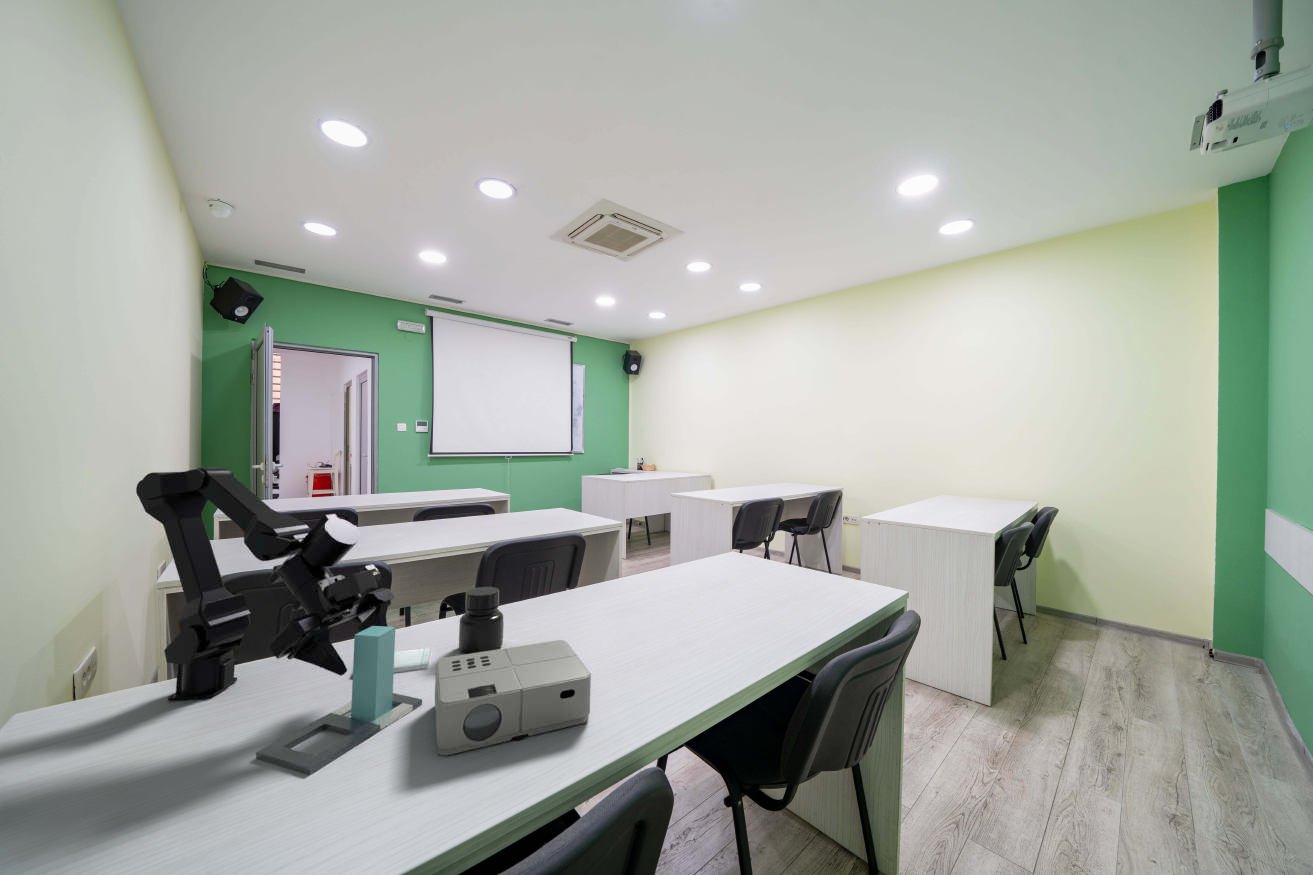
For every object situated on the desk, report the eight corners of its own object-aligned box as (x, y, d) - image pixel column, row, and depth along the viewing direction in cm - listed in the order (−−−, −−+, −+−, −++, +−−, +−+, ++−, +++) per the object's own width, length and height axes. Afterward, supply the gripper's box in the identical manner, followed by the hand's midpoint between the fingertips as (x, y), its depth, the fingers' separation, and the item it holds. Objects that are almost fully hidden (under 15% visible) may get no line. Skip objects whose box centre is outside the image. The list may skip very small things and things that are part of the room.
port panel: (310, 774, 61) (310, 768, 61) (255, 757, 64) (256, 751, 64) (421, 704, 78) (422, 699, 79) (375, 693, 82) (375, 689, 82)
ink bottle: (509, 639, 107) (511, 585, 107) (497, 656, 98) (499, 597, 98) (465, 639, 106) (467, 585, 107) (449, 656, 97) (451, 596, 98)
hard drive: (353, 672, 87) (428, 662, 92) (361, 654, 95) (430, 646, 99) (352, 681, 87) (427, 670, 92) (361, 663, 95) (430, 654, 99)
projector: (434, 704, 79) (435, 657, 79) (564, 679, 89) (565, 637, 89) (436, 763, 64) (438, 704, 64) (592, 725, 74) (593, 674, 74)
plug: (350, 720, 73) (354, 634, 74) (369, 706, 77) (372, 625, 78) (374, 722, 73) (378, 636, 74) (392, 708, 77) (395, 627, 78)
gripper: (291, 565, 68) (353, 651, 66) (388, 542, 87) (439, 609, 84) (243, 615, 69) (302, 702, 67) (348, 582, 88) (398, 649, 85)
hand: (368, 660), depth 76 cm, fingers open, 9 cm apart
